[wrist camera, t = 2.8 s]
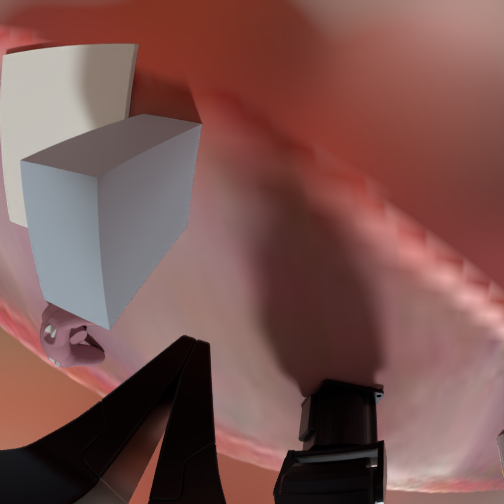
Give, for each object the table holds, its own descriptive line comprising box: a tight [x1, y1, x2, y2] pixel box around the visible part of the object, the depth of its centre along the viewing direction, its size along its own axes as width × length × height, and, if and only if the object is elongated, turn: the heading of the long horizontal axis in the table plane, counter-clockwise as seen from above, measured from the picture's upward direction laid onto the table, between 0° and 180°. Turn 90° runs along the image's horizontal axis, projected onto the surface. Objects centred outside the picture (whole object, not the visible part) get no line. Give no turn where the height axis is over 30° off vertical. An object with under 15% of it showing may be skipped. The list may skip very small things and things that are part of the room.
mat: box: [0, 44, 139, 228], centre depth 19 cm, size 14×16×1 cm
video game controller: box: [40, 303, 105, 368], centre depth 27 cm, size 10×5×7 cm, turn 155°
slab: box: [20, 114, 202, 330], centre depth 15 cm, size 4×7×10 cm, turn 168°
